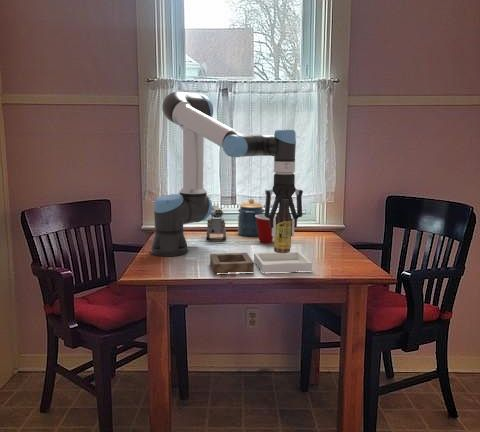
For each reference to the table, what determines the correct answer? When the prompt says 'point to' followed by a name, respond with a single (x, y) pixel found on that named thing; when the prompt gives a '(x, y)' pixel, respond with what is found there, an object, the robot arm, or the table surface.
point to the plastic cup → (264, 229)
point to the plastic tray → (282, 262)
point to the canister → (249, 218)
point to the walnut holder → (231, 263)
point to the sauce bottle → (283, 228)
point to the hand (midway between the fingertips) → (282, 236)
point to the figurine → (216, 223)
